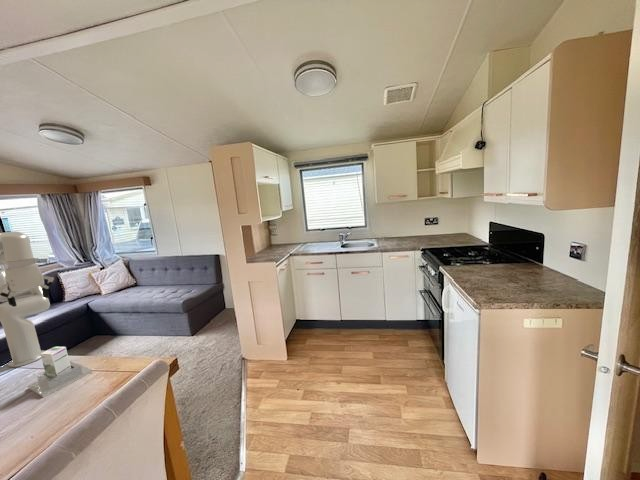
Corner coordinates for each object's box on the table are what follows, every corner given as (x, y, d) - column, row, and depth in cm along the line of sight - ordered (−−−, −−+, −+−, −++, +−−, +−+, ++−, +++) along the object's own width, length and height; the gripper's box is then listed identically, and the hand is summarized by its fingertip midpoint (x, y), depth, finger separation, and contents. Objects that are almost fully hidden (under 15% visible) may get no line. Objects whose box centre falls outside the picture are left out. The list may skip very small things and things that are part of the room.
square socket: (28, 388, 106) (26, 378, 106) (77, 365, 120) (75, 356, 120) (42, 397, 100) (40, 387, 100) (92, 372, 114) (90, 363, 114)
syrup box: (74, 375, 113) (66, 345, 111) (58, 385, 107) (50, 353, 105) (63, 375, 114) (55, 345, 111) (47, 384, 108) (39, 353, 106)
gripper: (45, 258, 117) (53, 293, 120) (-15, 268, 101) (-4, 308, 104) (52, 259, 114) (61, 295, 117) (-8, 269, 98) (3, 311, 101)
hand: (30, 301), depth 110 cm, fingers open, 9 cm apart
